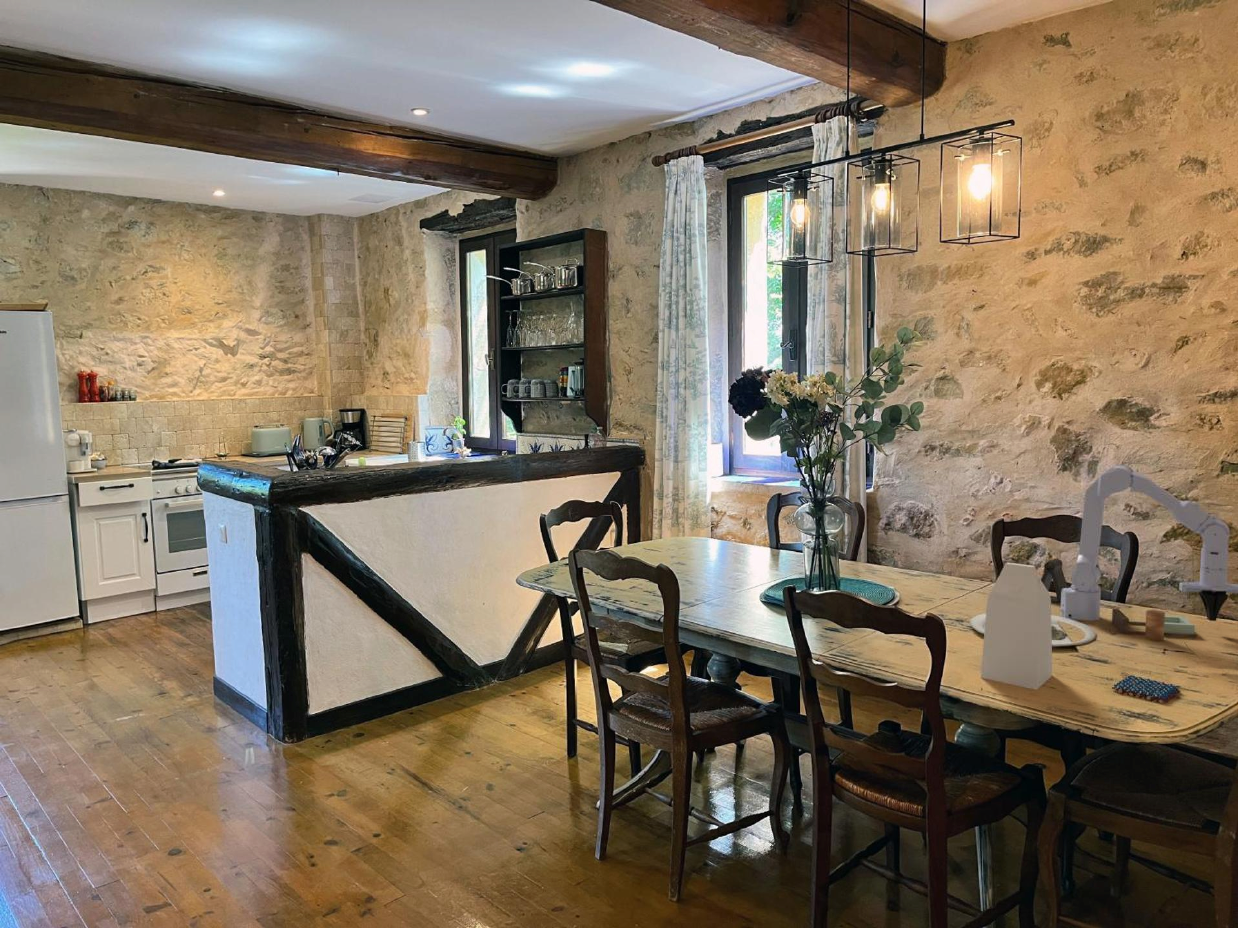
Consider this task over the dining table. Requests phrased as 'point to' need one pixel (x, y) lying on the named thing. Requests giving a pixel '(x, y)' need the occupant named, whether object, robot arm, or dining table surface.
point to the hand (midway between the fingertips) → (1211, 619)
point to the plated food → (1057, 631)
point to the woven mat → (1146, 688)
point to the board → (1123, 624)
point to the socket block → (1178, 625)
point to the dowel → (1155, 625)
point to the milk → (1018, 629)
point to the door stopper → (1054, 578)
